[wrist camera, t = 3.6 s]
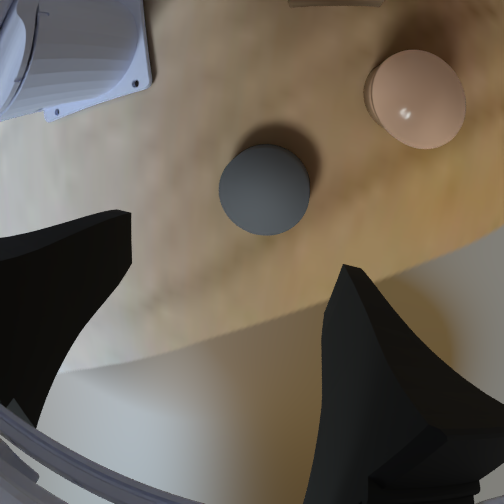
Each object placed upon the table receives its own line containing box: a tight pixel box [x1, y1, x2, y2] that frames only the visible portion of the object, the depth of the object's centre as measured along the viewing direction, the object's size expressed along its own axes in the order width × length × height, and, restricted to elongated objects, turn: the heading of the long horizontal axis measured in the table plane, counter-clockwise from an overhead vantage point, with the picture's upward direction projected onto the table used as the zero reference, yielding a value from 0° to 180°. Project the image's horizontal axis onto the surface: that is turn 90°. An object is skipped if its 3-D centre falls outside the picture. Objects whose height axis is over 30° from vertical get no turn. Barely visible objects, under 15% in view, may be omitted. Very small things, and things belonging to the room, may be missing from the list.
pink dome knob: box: [363, 50, 466, 149], centre depth 13 cm, size 5×5×4 cm
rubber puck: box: [219, 144, 310, 235], centre depth 18 cm, size 5×5×2 cm
